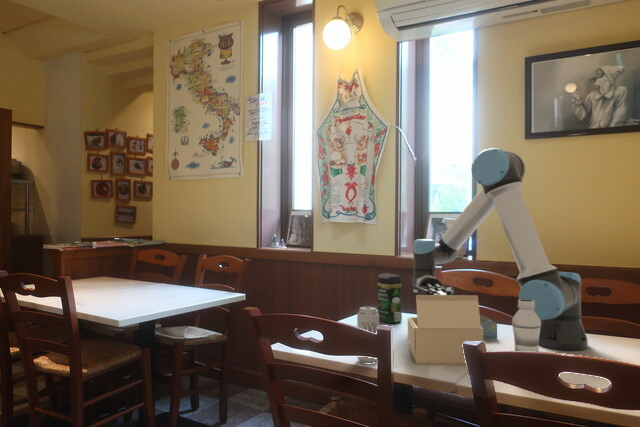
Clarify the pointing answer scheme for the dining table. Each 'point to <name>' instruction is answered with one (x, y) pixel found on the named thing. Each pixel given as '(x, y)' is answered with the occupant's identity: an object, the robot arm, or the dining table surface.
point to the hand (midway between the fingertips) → (443, 299)
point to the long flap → (448, 311)
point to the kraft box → (439, 343)
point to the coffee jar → (389, 298)
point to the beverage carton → (488, 328)
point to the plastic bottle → (526, 326)
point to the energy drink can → (368, 325)
